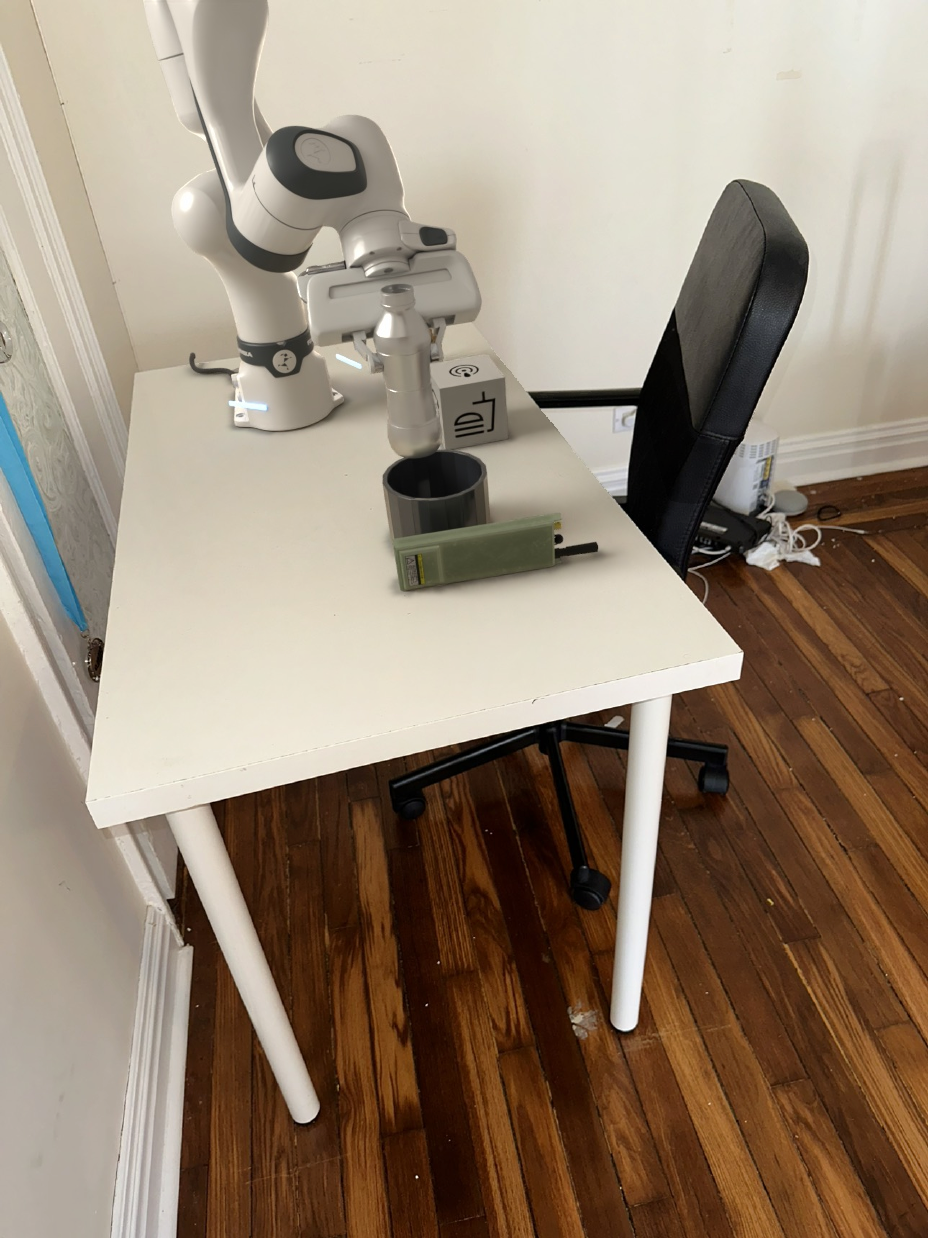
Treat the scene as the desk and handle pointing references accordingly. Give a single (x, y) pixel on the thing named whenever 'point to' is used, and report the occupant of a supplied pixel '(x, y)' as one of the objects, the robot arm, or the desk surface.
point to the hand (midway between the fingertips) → (407, 365)
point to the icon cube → (469, 401)
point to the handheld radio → (482, 551)
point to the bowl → (436, 493)
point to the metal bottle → (407, 374)
